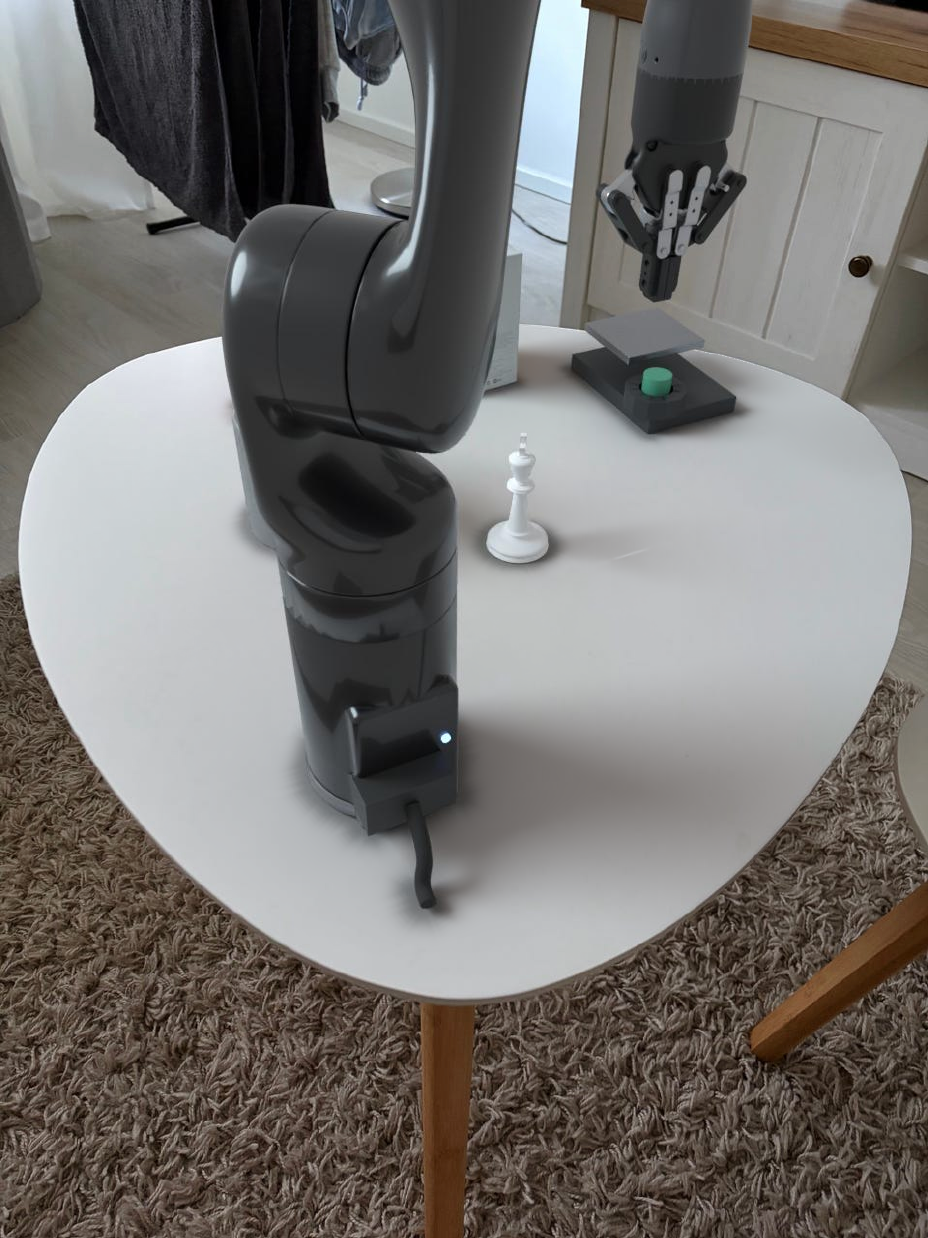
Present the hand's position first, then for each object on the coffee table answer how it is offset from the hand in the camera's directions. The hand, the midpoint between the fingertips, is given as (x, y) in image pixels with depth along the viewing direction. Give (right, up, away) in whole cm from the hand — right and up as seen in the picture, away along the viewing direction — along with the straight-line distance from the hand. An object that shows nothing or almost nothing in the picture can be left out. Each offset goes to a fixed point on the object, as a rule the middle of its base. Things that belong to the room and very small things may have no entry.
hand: (656, 297), depth 81 cm
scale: (+2, -4, +15) cm, 16 cm away
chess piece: (-12, -21, -3) cm, 24 cm away
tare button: (+2, -6, +9) cm, 11 cm away
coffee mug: (-29, -17, +1) cm, 33 cm away
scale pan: (+2, +1, +14) cm, 15 cm away
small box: (-15, -2, +18) cm, 24 cm away
